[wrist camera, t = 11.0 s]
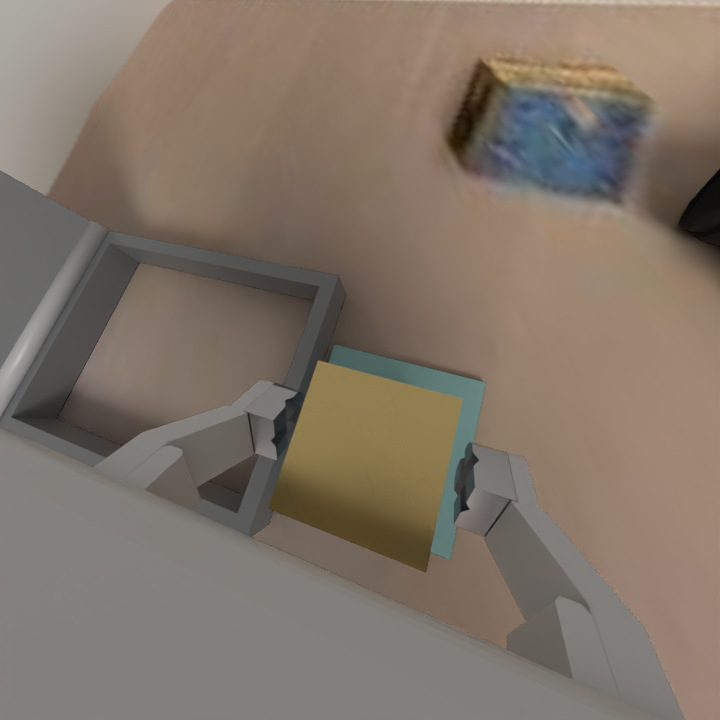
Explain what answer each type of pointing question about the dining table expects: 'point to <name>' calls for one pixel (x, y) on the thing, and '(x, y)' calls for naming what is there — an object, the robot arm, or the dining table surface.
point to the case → (91, 313)
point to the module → (369, 462)
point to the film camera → (705, 212)
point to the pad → (465, 428)
